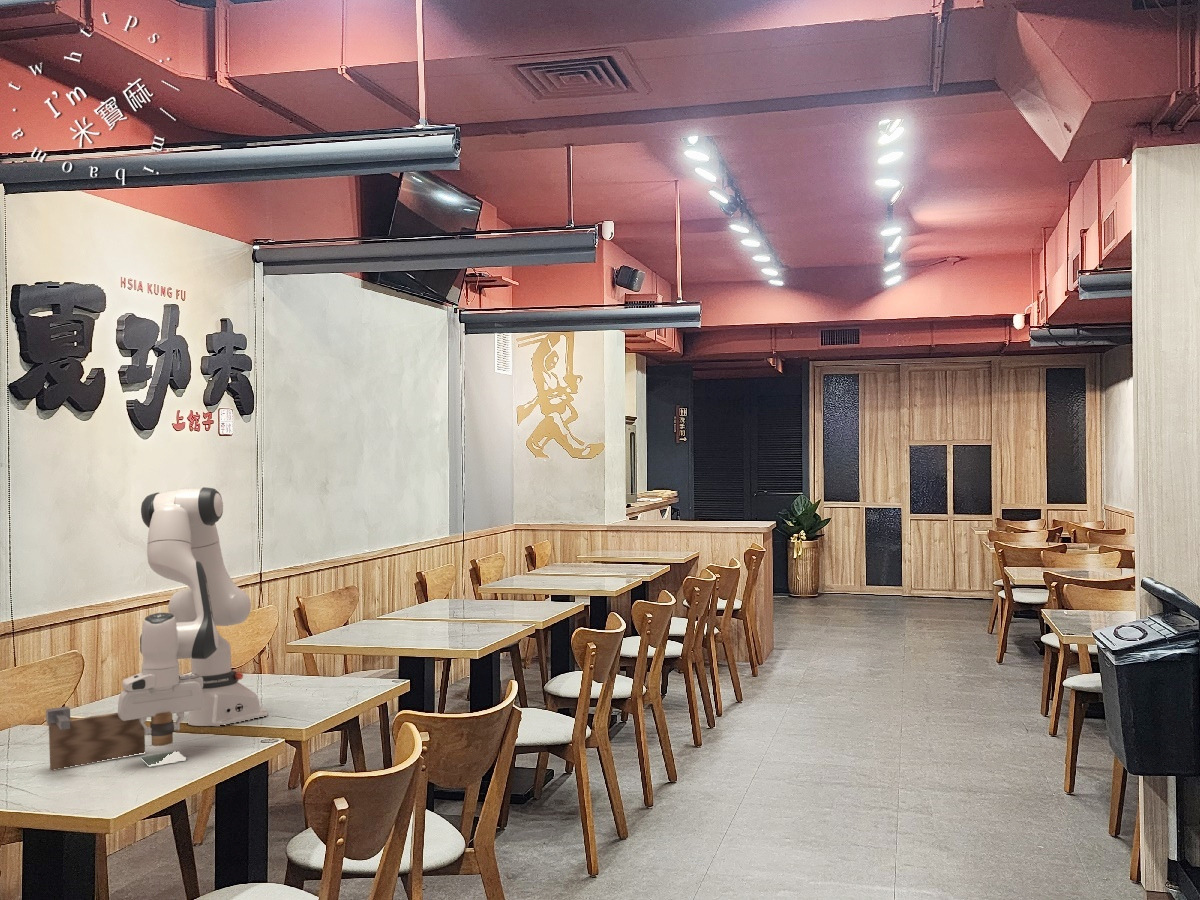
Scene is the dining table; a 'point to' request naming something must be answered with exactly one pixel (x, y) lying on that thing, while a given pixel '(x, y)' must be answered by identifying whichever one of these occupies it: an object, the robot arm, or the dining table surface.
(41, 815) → the dining table surface
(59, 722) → the clamp bar
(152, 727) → the spool
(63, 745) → the board
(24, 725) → the dining table surface
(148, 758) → the mat
